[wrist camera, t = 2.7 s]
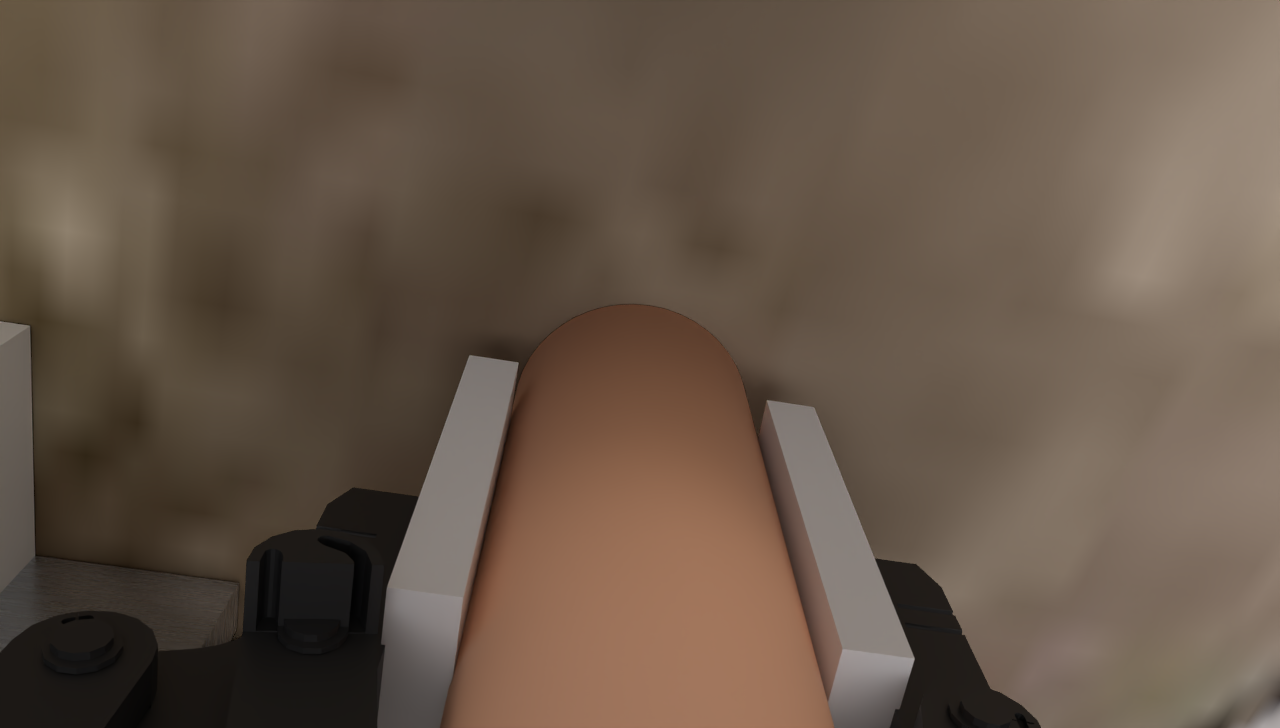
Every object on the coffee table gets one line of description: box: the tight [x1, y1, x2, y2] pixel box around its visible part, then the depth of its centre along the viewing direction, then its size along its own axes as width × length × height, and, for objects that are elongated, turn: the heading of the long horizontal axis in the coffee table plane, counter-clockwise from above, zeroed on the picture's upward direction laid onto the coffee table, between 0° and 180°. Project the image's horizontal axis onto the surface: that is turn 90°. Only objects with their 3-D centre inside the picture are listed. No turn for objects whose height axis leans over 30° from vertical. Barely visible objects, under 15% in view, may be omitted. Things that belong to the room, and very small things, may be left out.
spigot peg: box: [440, 304, 835, 728], centre depth 14 cm, size 4×4×12 cm
